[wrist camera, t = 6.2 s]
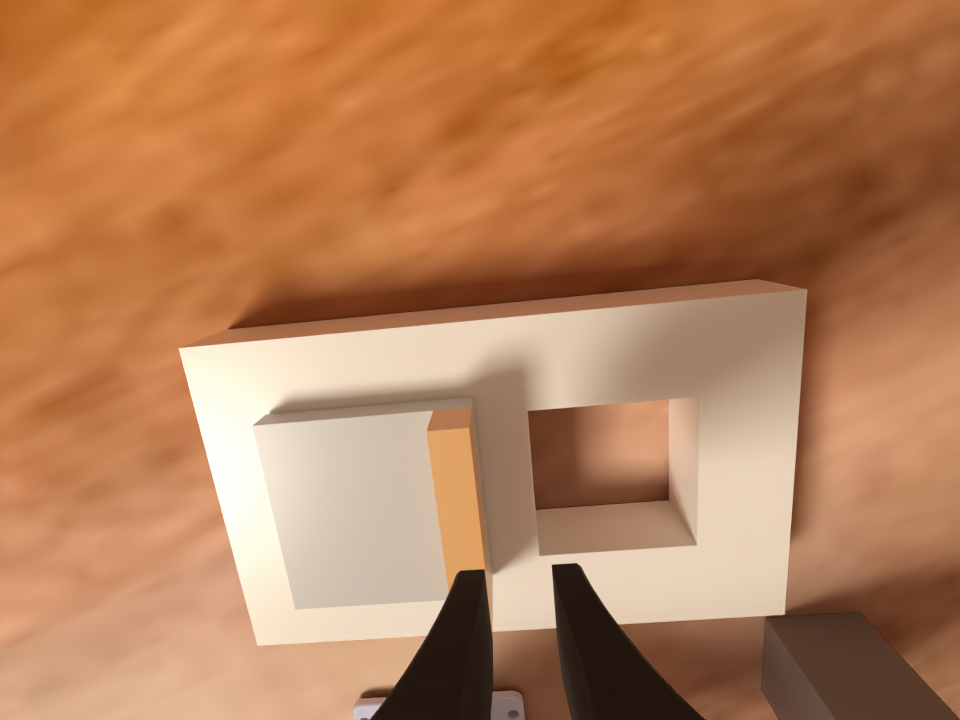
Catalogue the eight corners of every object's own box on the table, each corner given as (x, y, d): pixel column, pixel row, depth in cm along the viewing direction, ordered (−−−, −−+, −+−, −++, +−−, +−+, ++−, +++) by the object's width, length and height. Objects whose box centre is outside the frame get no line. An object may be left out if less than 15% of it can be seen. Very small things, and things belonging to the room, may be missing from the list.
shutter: (492, 577, 18) (492, 634, 16) (305, 589, 19) (276, 646, 16) (472, 396, 16) (468, 427, 14) (266, 414, 17) (225, 447, 14)
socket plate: (745, 561, 21) (784, 614, 18) (288, 590, 22) (257, 645, 19) (757, 278, 18) (807, 289, 15) (226, 329, 19) (178, 348, 16)
